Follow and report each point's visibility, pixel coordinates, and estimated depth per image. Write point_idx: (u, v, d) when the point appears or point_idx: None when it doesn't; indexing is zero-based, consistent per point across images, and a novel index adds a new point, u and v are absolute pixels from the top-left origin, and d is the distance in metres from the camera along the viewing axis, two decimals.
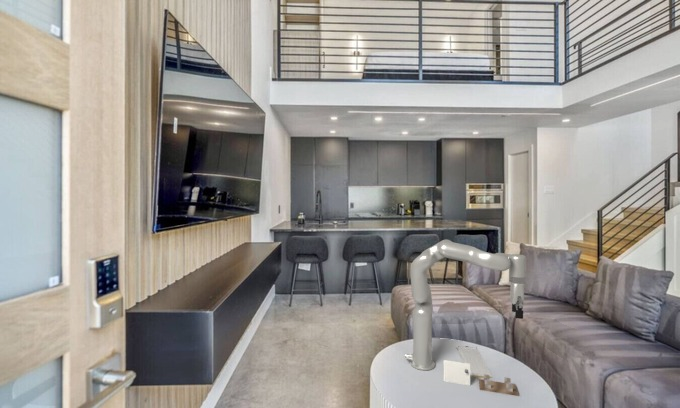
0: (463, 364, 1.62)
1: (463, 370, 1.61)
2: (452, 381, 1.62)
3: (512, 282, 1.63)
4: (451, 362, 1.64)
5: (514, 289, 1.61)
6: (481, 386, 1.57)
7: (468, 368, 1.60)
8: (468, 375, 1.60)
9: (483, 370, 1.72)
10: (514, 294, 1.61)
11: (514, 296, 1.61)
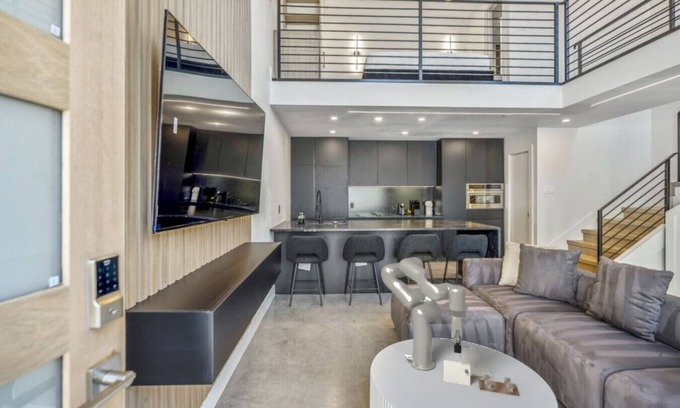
0: (463, 364, 1.62)
1: (463, 370, 1.61)
2: (452, 381, 1.62)
3: (451, 315, 1.61)
4: (451, 362, 1.64)
5: (452, 323, 1.59)
6: (481, 386, 1.57)
7: (468, 368, 1.60)
8: (468, 375, 1.60)
9: (483, 370, 1.72)
10: (452, 328, 1.59)
11: (452, 330, 1.59)
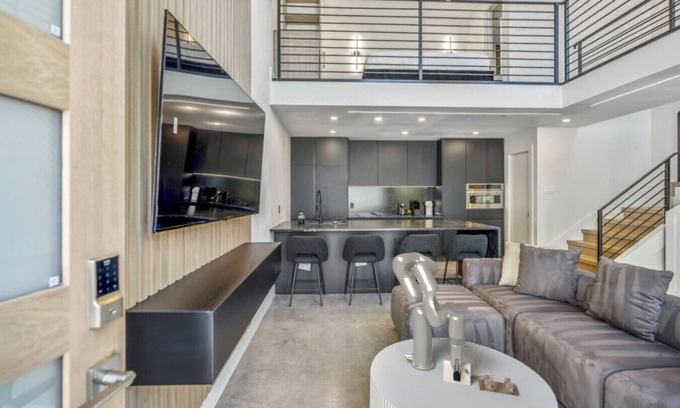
0: (463, 364, 1.62)
1: (463, 370, 1.61)
2: (452, 381, 1.62)
3: (451, 343, 1.61)
4: None
5: (452, 351, 1.59)
6: (481, 386, 1.57)
7: (468, 368, 1.60)
8: (468, 375, 1.60)
9: (483, 370, 1.72)
10: (452, 356, 1.59)
11: (452, 358, 1.59)
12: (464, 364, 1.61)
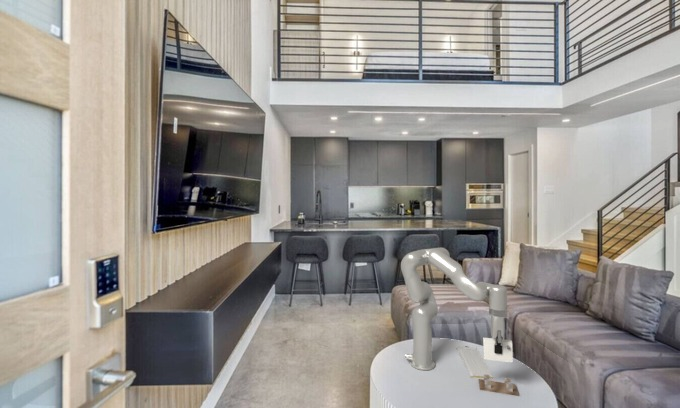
0: (504, 340, 1.56)
1: (505, 347, 1.55)
2: (493, 358, 1.56)
3: (492, 315, 1.55)
4: (491, 339, 1.58)
5: (494, 322, 1.53)
6: (481, 386, 1.57)
7: (510, 344, 1.54)
8: (510, 351, 1.54)
9: (484, 370, 1.72)
10: (494, 328, 1.53)
11: (494, 330, 1.53)
12: (505, 341, 1.56)
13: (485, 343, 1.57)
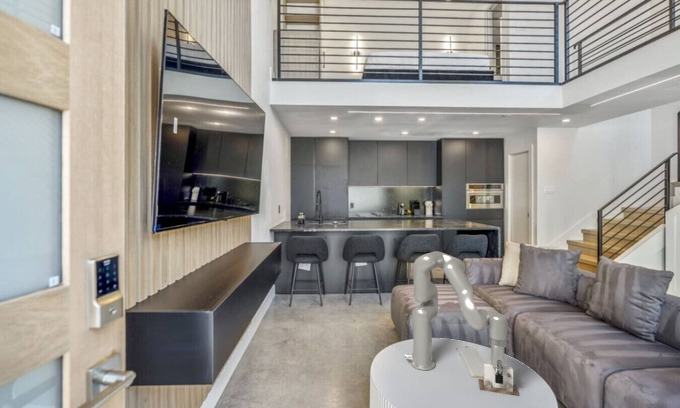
0: (505, 368, 1.56)
1: (505, 374, 1.55)
2: (494, 385, 1.56)
3: (492, 344, 1.55)
4: None
5: (494, 352, 1.53)
6: (481, 386, 1.57)
7: (511, 372, 1.54)
8: (511, 379, 1.54)
9: None
10: (494, 357, 1.53)
11: (494, 360, 1.53)
12: (506, 368, 1.56)
13: (486, 370, 1.57)
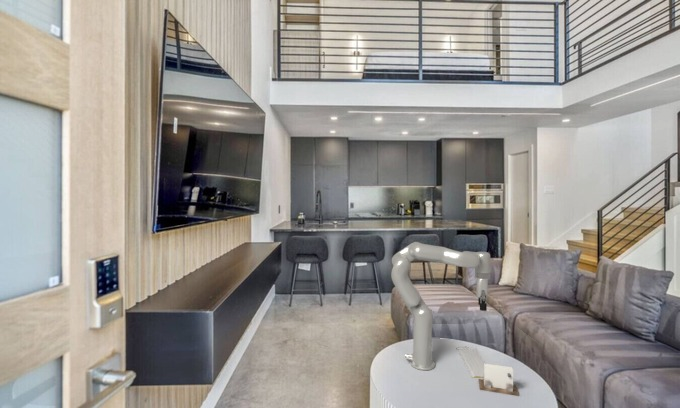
0: (505, 368, 1.56)
1: (505, 374, 1.55)
2: (494, 385, 1.56)
3: (477, 277, 1.78)
4: (492, 366, 1.58)
5: (478, 284, 1.76)
6: (481, 386, 1.57)
7: (511, 372, 1.54)
8: (511, 379, 1.54)
9: None
10: (478, 288, 1.75)
11: (478, 290, 1.75)
12: (506, 368, 1.56)
13: (486, 370, 1.57)
